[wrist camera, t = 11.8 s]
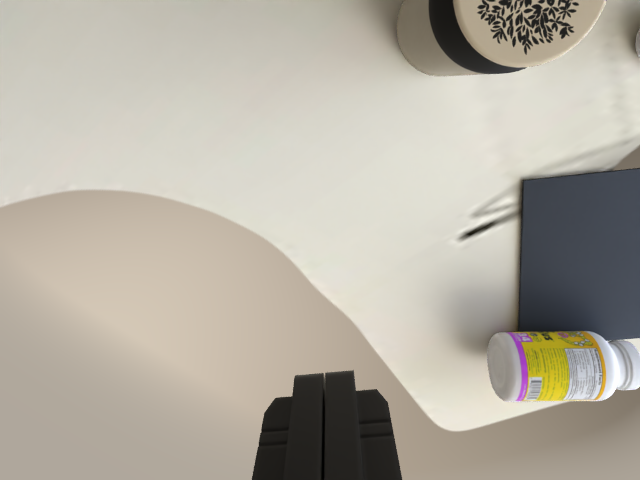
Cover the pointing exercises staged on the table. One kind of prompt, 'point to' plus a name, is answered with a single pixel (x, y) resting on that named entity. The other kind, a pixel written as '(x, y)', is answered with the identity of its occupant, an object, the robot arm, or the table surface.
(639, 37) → the rook chess piece
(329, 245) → the table surface
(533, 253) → the mat
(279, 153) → the table surface
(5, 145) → the table surface
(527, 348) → the supplement bottle
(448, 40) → the travel mug
